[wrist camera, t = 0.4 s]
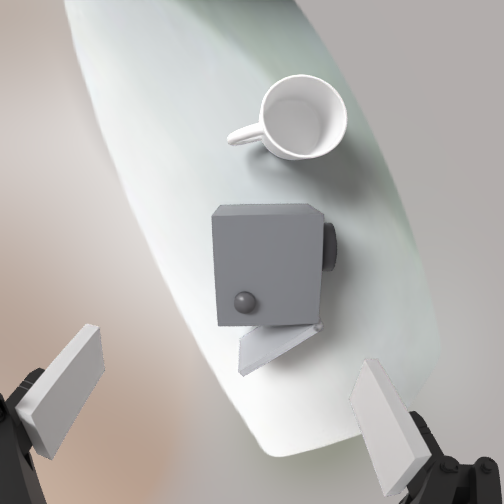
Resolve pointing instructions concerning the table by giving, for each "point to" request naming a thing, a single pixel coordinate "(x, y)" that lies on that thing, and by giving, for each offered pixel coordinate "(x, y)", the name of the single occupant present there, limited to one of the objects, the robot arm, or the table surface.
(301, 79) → the cup
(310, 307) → the camera body
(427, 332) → the table surface
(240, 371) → the side door
